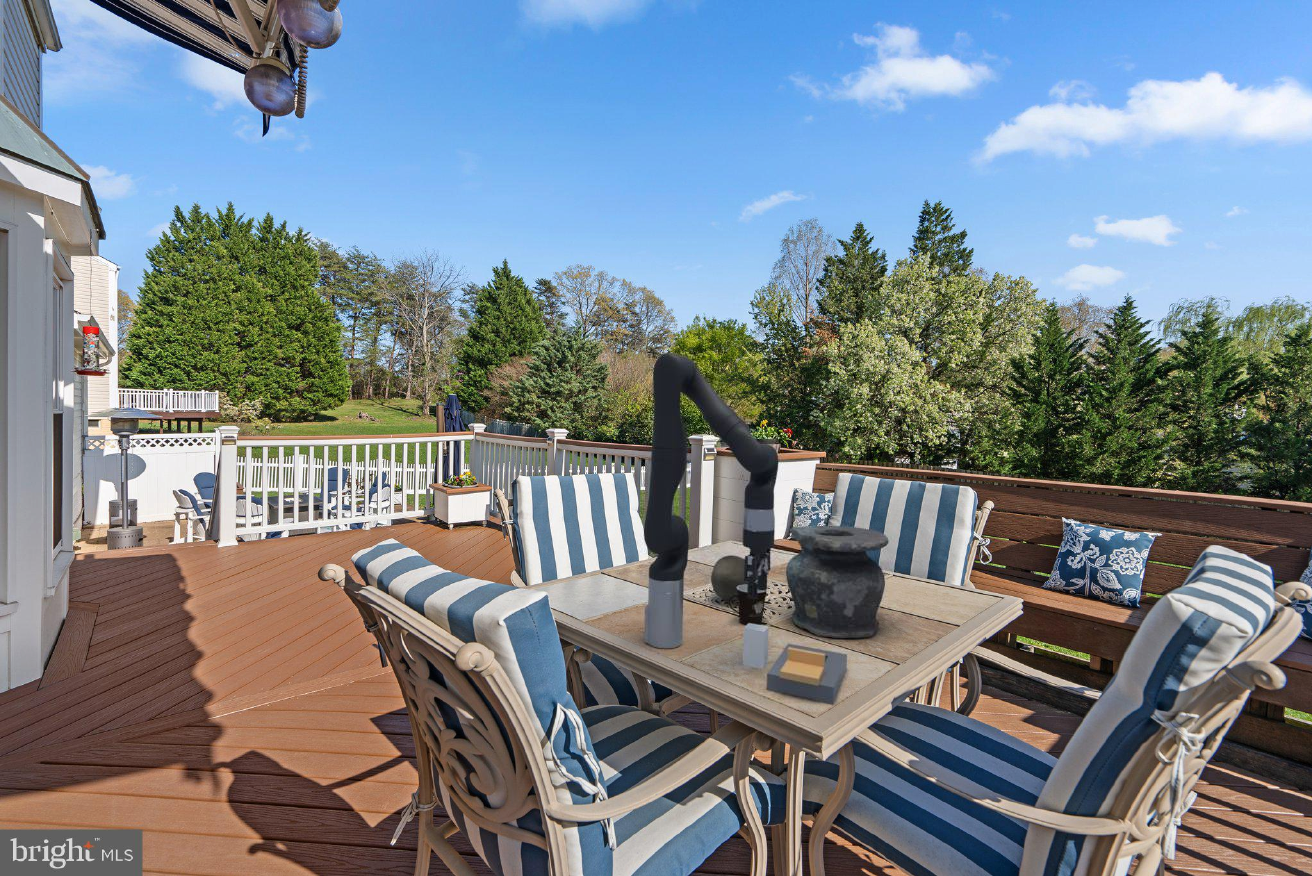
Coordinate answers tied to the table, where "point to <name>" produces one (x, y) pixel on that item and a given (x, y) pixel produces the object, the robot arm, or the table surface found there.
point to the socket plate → (822, 692)
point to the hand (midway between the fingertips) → (757, 594)
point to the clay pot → (836, 580)
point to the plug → (755, 646)
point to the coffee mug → (749, 606)
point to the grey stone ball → (728, 576)
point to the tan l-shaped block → (803, 666)
